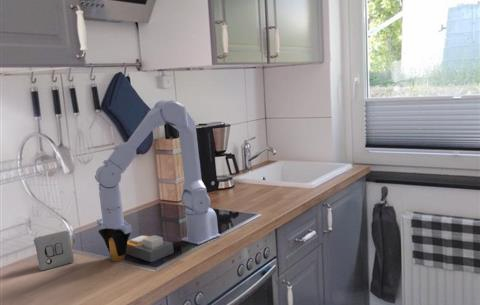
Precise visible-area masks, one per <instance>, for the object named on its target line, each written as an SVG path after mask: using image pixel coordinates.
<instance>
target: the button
mask: <svg viewBox="0 0 480 305" xmlns="http://www.w3.org/2000/svg"><path fill="white" fill-rule="evenodd" d="M163 240H164V237H162V236H159V235H151V236H149V237H148V238H145V239H143V245H144V247H146V248H150V249H154V248H156V247H159V246H161V245H163Z"/></svg>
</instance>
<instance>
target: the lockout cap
mask: <svg viewBox="0 0 480 305" xmlns="http://www.w3.org/2000/svg"><path fill="white" fill-rule="evenodd" d="M109 248H110V253H109V255H110V261H111V262H120V261H121V262H122V261H123V260H125V259H126V254H124V255H122V256H118V254H117V250H116V246H115V243H114V240H113V238H110V239H109Z"/></svg>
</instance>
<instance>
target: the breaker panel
mask: <svg viewBox="0 0 480 305" xmlns="http://www.w3.org/2000/svg"><path fill="white" fill-rule="evenodd" d="M141 236H145V237H150V236H149V235H144V234H143V235H141ZM130 240H131V239H128V242H127V248H126V254H125V255H128V256H131V257H134V258H136V259H140V260H144V261H146V262H149V263H154V262H155V261H158V260H161V259H163V258H165V257H167V256H169V255H172V254H174V253H175V251H174V243H173V242H172V241H171V242H170V241H166V240H164V239H163V245H161V246H159V247H156V248H154V249H150V248H146V247H144V245H143V243H141V244H138V245H136V244H133V243H131V241H130Z"/></svg>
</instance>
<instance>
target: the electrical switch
mask: <svg viewBox="0 0 480 305" xmlns="http://www.w3.org/2000/svg"><path fill="white" fill-rule="evenodd" d="M33 243H34V246H35V251H36V256H37V262H38V268H39V270H40V271H45V270H50V269H53V268H57V267H60V266H63V265H68V264H72V263H73V262H74V261H75V257H74V252H73V248H72V242H71V238H70V233H69V231H68V230H63V231H59V232H53V233H49V234H46V235H42V236H41V235H40V236H37V237H34V239H33ZM48 261H49V262H48Z"/></svg>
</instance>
